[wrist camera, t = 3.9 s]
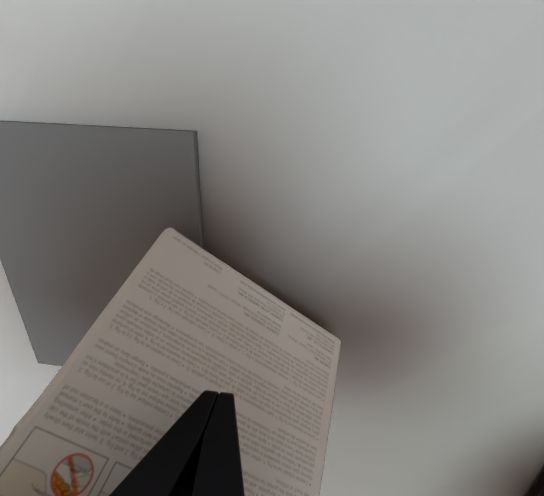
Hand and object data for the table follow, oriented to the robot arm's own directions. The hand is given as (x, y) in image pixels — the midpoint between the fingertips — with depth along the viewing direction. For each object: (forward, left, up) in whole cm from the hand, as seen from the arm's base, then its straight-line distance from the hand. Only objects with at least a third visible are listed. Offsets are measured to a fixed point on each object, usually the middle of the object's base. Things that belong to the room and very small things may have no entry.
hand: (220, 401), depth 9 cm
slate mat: (0, +7, -7) cm, 10 cm away
